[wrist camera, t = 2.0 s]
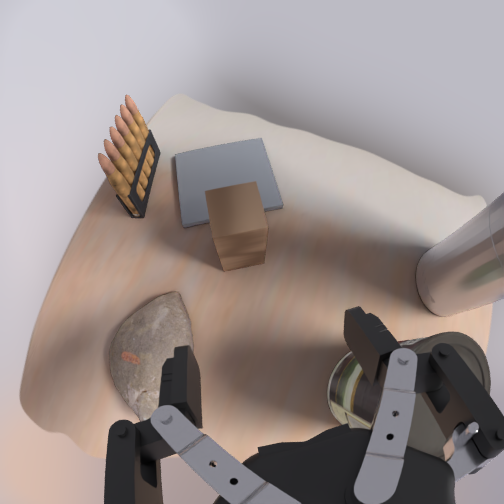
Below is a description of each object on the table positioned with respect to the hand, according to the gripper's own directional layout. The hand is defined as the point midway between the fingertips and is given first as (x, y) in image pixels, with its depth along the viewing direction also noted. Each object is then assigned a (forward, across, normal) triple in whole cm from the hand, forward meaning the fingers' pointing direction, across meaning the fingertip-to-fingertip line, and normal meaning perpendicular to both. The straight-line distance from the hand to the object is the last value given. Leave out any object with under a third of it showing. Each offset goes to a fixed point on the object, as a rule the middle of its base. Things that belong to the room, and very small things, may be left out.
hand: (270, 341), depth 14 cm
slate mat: (+26, 0, -4) cm, 26 cm away
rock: (+12, +12, +11) cm, 20 cm away
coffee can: (+6, -11, +17) cm, 21 cm away
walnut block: (+19, 0, +3) cm, 19 cm away
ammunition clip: (+28, +10, -5) cm, 30 cm away
